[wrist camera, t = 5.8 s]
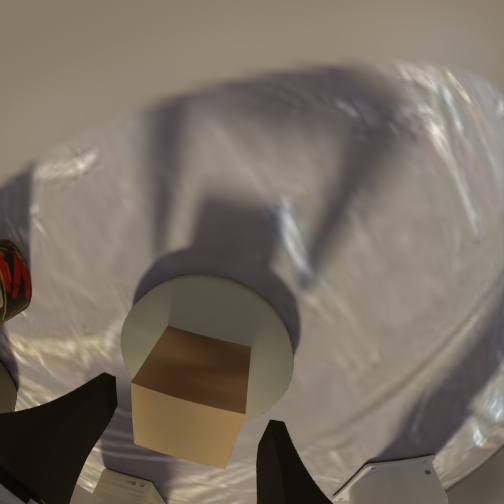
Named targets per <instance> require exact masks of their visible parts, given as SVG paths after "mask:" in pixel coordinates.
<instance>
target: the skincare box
mask: <svg viewBox="0 0 504 504" xmlns="http://www.w3.org/2000/svg"><path fill="white" fill-rule="evenodd" d="M89 504H166V503H165V502H164V500H163V499H162V497H161V496H160V494H159V493H158V491H157V490H156V488H155V487H154V485H153V483H152V482H150V481H146V480H143V479H139V478H135V477H132V476H128V475H125V474H121V473H118V472H115V471H111V470H108V469H104V470H103V472H102V474H101V477H100V479H99V481H98V483H97V485H96V488H95V490H94V492H93V495H92V497H91V499H90V502H89Z"/></svg>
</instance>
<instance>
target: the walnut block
mask: <svg viewBox="0 0 504 504" xmlns="http://www.w3.org/2000/svg"><path fill="white" fill-rule="evenodd" d="M250 356H251V347H249V346H245V345H240V344H236V343H232V342H227V341H223V340H219V339H215V338H211V337H207V336H204V335H200V334H196V333H192V332H189V331H185V330H182V329H178V328H175V327H171V326H167V327H166V329H165V331H164V332H163V334H162V335H161V337H160V338H159V340H158V341H157V343H156V344H155V346H154V347H153V349H152V350H151V352H150V354H149V355H148V357H147V358H146V360H145V361H144V363H143V364H142V366H141V368H140V369H139V371H138V372H137V374H136V375H135V377H134V379H133V380H132V382H131V400H132V420H133V433H134V444H137V445H140V446H142V447H145V448H148V449H151V450H154V451H157V452H160V453H163V454H167V455H170V456H173V457H177V458H181V459H184V460H188V461H192V462H196V463H200V464H205V465H209V466H214V467H219V468H224V469H225V467H226V464H227V462H228V459H229V457H230V454H231V452H232V449H233V446H234V444H235V441H236V439H237V436H238V433H239V431H240V428H241V425H242V423H243V420H244V417H245V414H246V403H247V392H248V380H249V368H250Z"/></svg>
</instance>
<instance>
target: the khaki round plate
mask: <svg viewBox="0 0 504 504" xmlns="http://www.w3.org/2000/svg"><path fill="white" fill-rule="evenodd" d="M167 326H171V327H175V328H178V329H182V330H185V331H189V332H192V333H196V334H200V335H204V336H207V337H211V338H215V339H219V340H223V341H227V342H232V343H236V344H240V345H245V346H249V347H251V356H250V368H249V380H248V392H247V403H246V414H245V417H244V420H243V421H246V420H249V419H252V418H255V417H257V416H259V415H261V414H263V413H264V412H266V411H268V410H269V409H270V408H272V407H273V406H274V405H275V404H276V403H277V402H278V401H279V400H280V399H281V398H282V397H283V395H284V394H285V392H286V390H287V389H288V387H289V384H290V382H291V378H292V374H293V365H294V362H293V353H292V346H291V340H290V336H289V332H288V329H287V327H286V325H285V323H284V320H283V319H282V317H281V316H280V314H279V313H278V311H277V310H276V309H275V308H274V307H273V305H272V304H271V303H270V302H269V301H268V300H267V299H265V298H264V297H263V296H262V295H261V294H259V293H258V292H256V291H255V290H254V289H252V288H250V287H248V286H247V285H245V284H243V283H241V282H238V281H236V280H233V279H230V278H227V277H223V276H219V275H212V274H186V275H180V276H177V277H173V278H170V279H168V280H165V281H163V282H161V283H160V284H158V285H156V286H155V287H153V288H152V289H151V290H150V291H149V292H148V293H146V294H145V295H144V296H143V297H142V298H141V299H140V300H139V301H138V302H137V303H136V304H135V305H134V307H133V308H132V309H131V310H130V312H129V314H128V315H127V317H126V319H125V322H124V325H123V328H122V334H121V349H122V355H123V359H124V362H125V365H126V367H127V370H128V372H129V374H130V375H131V377H132V379H134V377H135V375H136V374H137V372H138V371H139V369H140V368H141V366H142V364H143V363H144V361H145V360H146V358H147V357H148V355H149V354H150V352H151V350H152V349H153V347H154V346H155V344H156V343H157V341H158V340H159V338H160V337H161V335H162V334H163V332H164V331H165V329H166V327H167Z"/></svg>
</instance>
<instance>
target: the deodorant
mask: <svg viewBox="0 0 504 504" xmlns="http://www.w3.org/2000/svg"><path fill="white" fill-rule="evenodd" d="M31 293H32V287H31V280H30V275H29V272H28V268H27V265H26V263H25V261H24V258H23V256H22V255H21V253H20V251H19V250H18V249H17V247H16V246H15V245H14V244H13V243H11V242H10V241H8V240H1V241H0V325H1V324H3V323H5V322H6V321H8V320H9V319H11V318H12V317H14V316H15V315H17V314H19V313H20V312H22V311H23V310H25V309H26V308H27V307H28V306H29V304H30V301H31Z"/></svg>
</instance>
